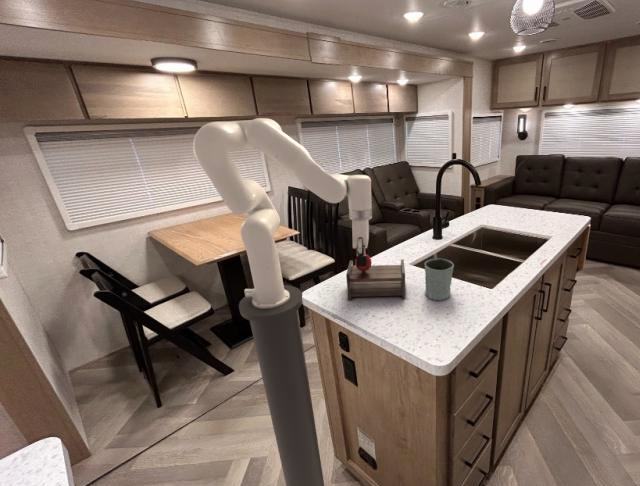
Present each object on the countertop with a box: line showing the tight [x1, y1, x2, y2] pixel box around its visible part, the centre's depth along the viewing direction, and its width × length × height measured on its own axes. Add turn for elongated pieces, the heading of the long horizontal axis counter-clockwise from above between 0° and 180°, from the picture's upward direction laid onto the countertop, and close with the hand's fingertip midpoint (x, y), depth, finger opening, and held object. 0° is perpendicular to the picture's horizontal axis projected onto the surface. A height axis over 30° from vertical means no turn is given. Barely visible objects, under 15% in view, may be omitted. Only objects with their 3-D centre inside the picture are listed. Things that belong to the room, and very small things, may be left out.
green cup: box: [424, 258, 455, 301], centre depth 113 cm, size 10×10×12 cm
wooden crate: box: [345, 259, 406, 301], centre depth 116 cm, size 20×12×10 cm, turn 92°
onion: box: [354, 254, 372, 272], centre depth 113 cm, size 6×6×8 cm
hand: (362, 260), depth 113 cm, fingers open, 9 cm apart
